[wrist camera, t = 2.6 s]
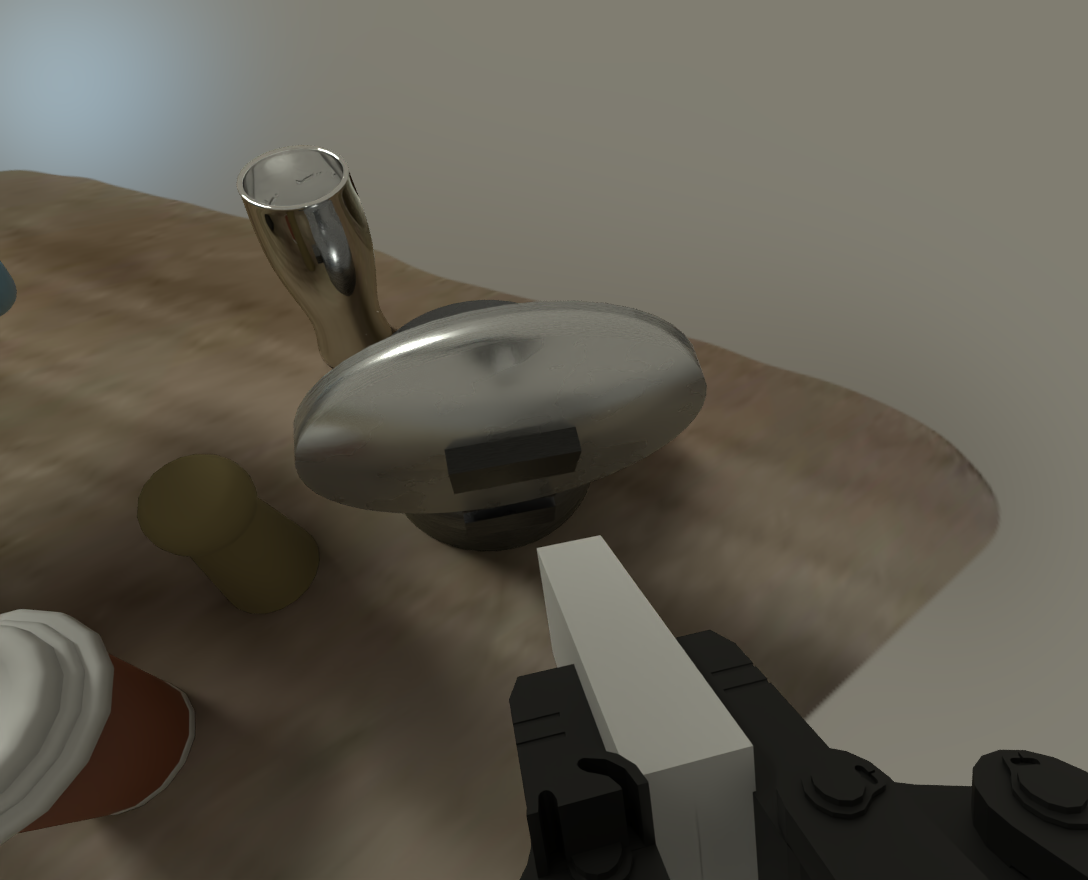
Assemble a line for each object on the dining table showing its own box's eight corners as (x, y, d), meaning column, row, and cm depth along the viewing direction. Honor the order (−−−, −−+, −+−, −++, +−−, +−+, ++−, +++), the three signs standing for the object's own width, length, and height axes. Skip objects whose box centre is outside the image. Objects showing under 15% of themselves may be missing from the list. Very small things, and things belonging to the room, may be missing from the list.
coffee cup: (97, 894, 27) (-163, 956, 17) (6, 760, 30) (-263, 744, 20) (255, 728, 31) (122, 697, 21) (161, 624, 34) (5, 552, 24)
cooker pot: (651, 534, 38) (678, 478, 31) (365, 593, 35) (327, 546, 28) (589, 357, 46) (600, 282, 39) (355, 394, 43) (323, 321, 37)
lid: (642, 460, 31) (653, 497, 30) (358, 513, 29) (362, 554, 28) (767, 267, 16) (795, 330, 15) (202, 347, 14) (200, 425, 13)
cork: (333, 531, 37) (268, 445, 28) (296, 622, 34) (209, 558, 25) (247, 516, 38) (156, 426, 28) (204, 604, 34) (83, 535, 25)
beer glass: (305, 376, 44) (216, 209, 31) (324, 313, 48) (251, 141, 35) (393, 377, 44) (339, 212, 32) (405, 314, 48) (361, 144, 35)
